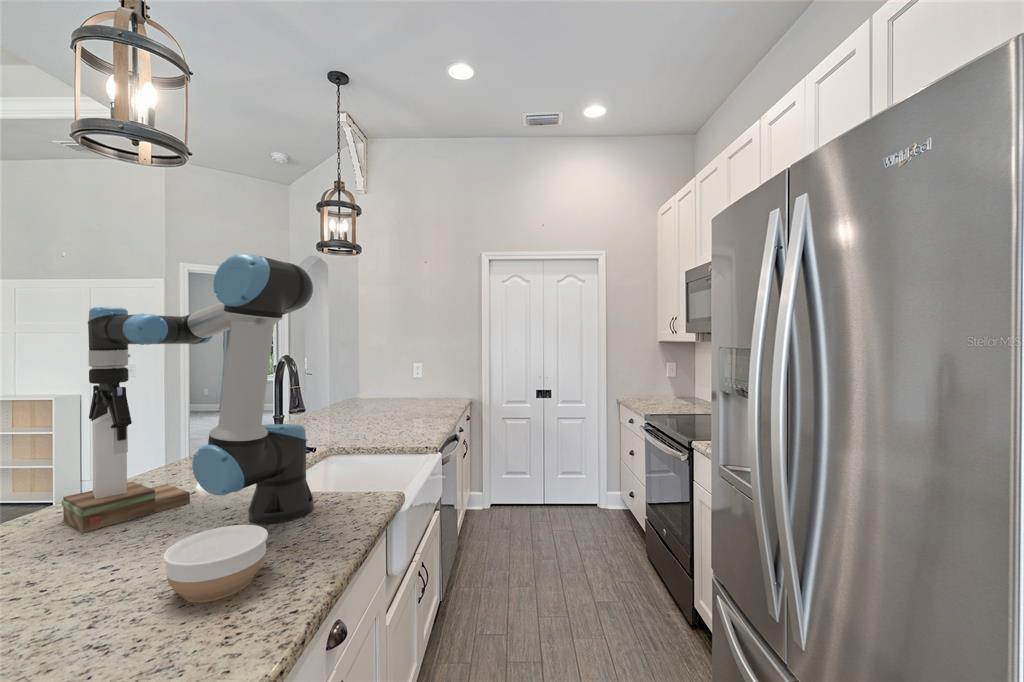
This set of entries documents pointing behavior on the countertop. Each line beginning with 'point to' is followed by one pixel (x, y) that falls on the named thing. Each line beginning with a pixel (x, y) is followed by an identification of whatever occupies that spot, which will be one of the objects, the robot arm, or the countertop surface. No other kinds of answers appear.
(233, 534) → the bowl
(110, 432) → the milk
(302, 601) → the countertop surface
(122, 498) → the stand
